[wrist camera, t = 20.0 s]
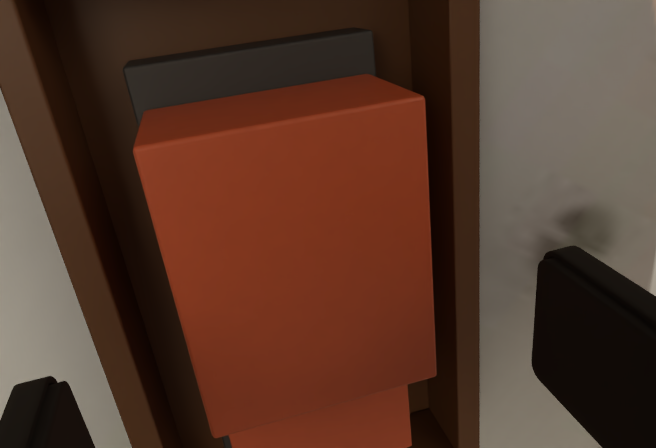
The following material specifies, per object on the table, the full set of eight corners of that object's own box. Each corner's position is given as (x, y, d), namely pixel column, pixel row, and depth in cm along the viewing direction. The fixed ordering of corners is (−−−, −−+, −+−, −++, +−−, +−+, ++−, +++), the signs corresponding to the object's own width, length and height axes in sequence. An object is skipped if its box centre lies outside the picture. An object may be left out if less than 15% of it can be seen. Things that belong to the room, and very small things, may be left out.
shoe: (127, 60, 13) (101, 92, 9) (355, 26, 15) (434, 39, 10) (222, 421, 18) (237, 556, 14) (386, 375, 19) (449, 487, 15)
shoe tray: (-5, -50, 12) (-57, -63, 10) (422, -95, 14) (480, -117, 12) (174, 485, 20) (174, 564, 17) (441, 407, 22) (480, 467, 19)
